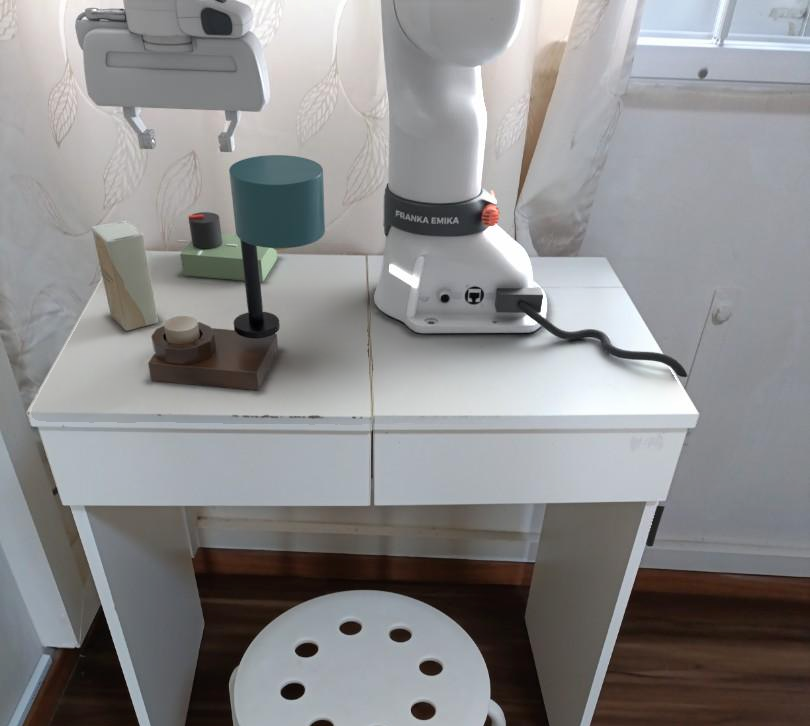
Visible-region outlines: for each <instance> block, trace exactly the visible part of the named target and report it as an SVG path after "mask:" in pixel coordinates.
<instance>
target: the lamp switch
mask: <svg viewBox="0 0 810 726" xmlns="http://www.w3.org/2000/svg"><path fill="white" fill-rule="evenodd" d="M198 322H199V321H198V319H197V318H195V317H193V316H190V315H189V316H188V315H178V316H173V317H170V318H168V319H166V320H165V321H164V323H163V326H164V329H165V335H166V340H167V342H169V343H172V344H187V343H192V342H194V341H196V340H199V339H200V333H199V326H198Z"/></svg>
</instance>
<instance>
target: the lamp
mask: <svg viewBox="0 0 810 726" xmlns="http://www.w3.org/2000/svg"><path fill="white" fill-rule="evenodd" d="M228 172H229V174H228V175H229V180H230V191H231V192H230V193H231V199H232V209H233V218H234V228H235V235H237V236H238V237H239V239H240V240H241V250H242V259H243V269H244V278H245V281H244V286H245V297H246V306H247V312H245V313H241V314H239V315H238V316H236V317H235V319H234V320H233V330H235V332H236V333H237V334H238V335H240V336H243V337H246V338H265V337H269V336H272V335H274V334H277V333H278V332H279V330H280V328H281V326H280V319H279V317H278V316H277V315H276V314H274V313H272V312H268V311H264V310H263V309H264V308H263V299H262V288H261V287H262V285H261V282H260V275H259V264H258V254H257V246H259V247H266V248H273V249H274V250H276V251H277V252H281V253H283V252H288V251H290V250H291V249H292V248H298V247H299V248H300V247H303V246H307V245H311V244H313V243H316V242H318V241H320V239H322V238H323V237H324V235H325V233H326V219H325V218H326V217H325V216H326V215H325V195H324V194H325V190H324V189H325V188H324V186H325V185H324V169H323V167H322V165H321V164H320V163H319V162H317V161H315V160H313V159H309V158H307V157H301V156H296V155H287V154H286V155H285V154H265V155H258V156H252V157H251V156H250V157H247V158H244V159H240V160H239V161H236V162H234V163H233V164H232V165H230V167H229V169H228Z"/></svg>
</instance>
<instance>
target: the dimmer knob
mask: <svg viewBox="0 0 810 726" xmlns="http://www.w3.org/2000/svg"><path fill="white" fill-rule="evenodd" d="M188 224H189V230H190V238H191V241H192V244H193V246H194V247H196V248H200V249H212V248H216V247H219V246H220V245H222V236H221V234H222V228H221V221H220V215H219V214H218V213H216V212H215V213H214V212H208V211H202V212H196V213H193V214H191V215H188Z"/></svg>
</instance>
